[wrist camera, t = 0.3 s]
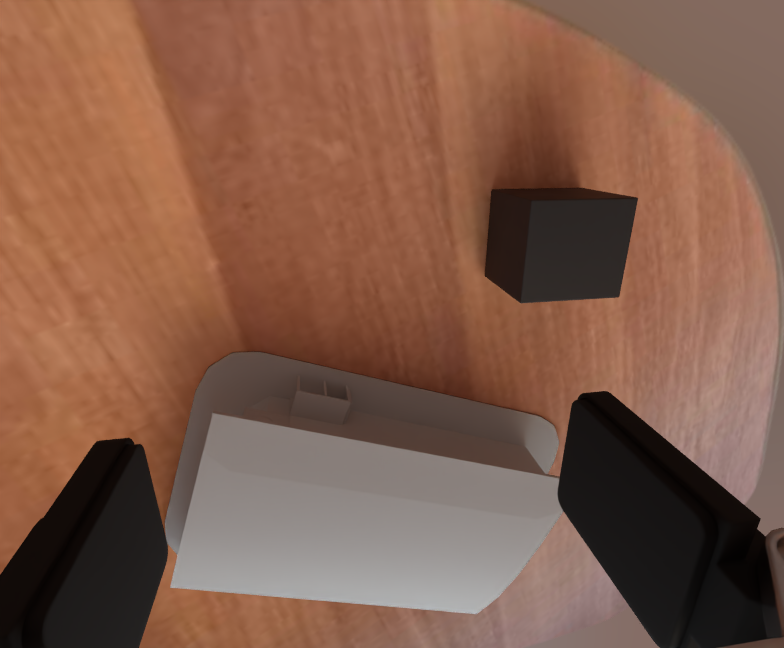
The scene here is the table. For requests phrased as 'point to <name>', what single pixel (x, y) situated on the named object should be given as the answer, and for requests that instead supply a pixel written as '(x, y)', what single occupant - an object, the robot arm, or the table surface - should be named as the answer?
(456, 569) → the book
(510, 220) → the box
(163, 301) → the table surface
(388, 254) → the table surface
